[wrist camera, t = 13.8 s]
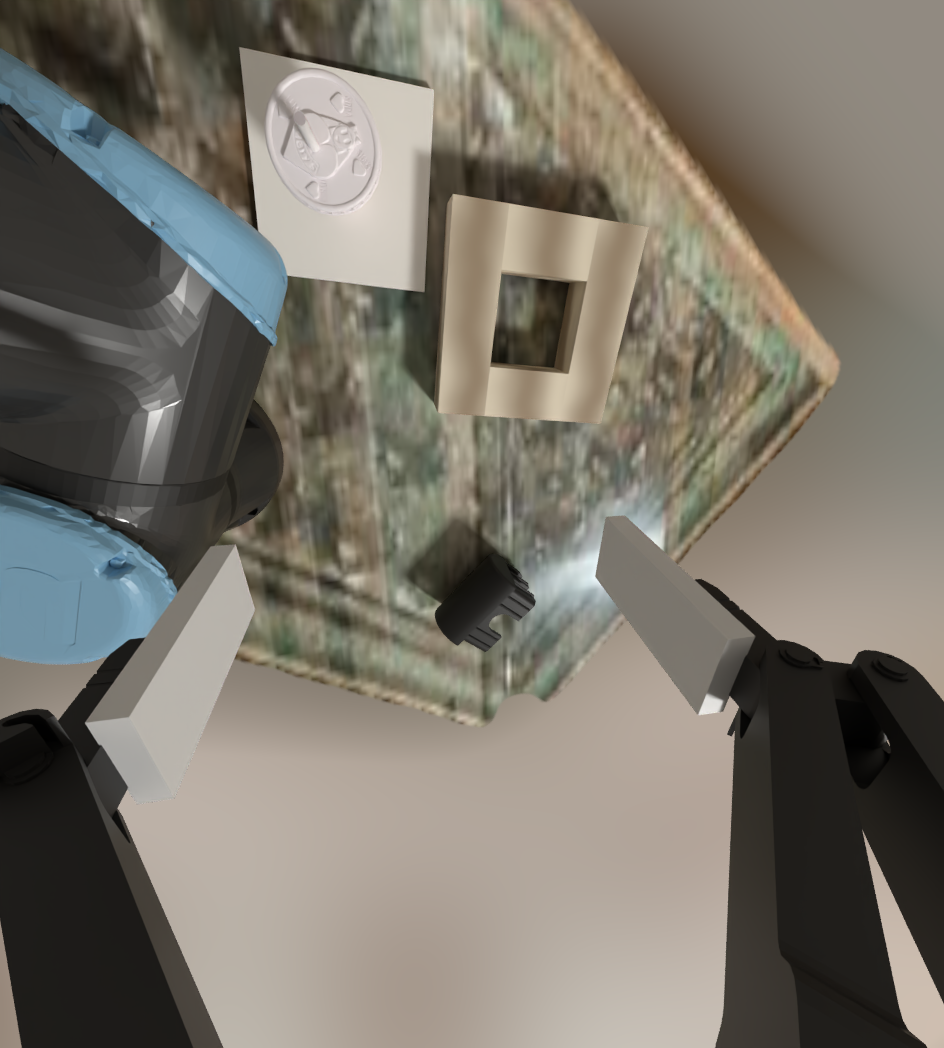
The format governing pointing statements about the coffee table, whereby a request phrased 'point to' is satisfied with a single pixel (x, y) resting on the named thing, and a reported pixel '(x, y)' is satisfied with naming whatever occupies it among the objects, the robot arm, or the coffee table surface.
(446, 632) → the end cap
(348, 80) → the tile
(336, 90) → the smoothie
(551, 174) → the coffee table surface
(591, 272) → the frame
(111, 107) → the coffee table surface
